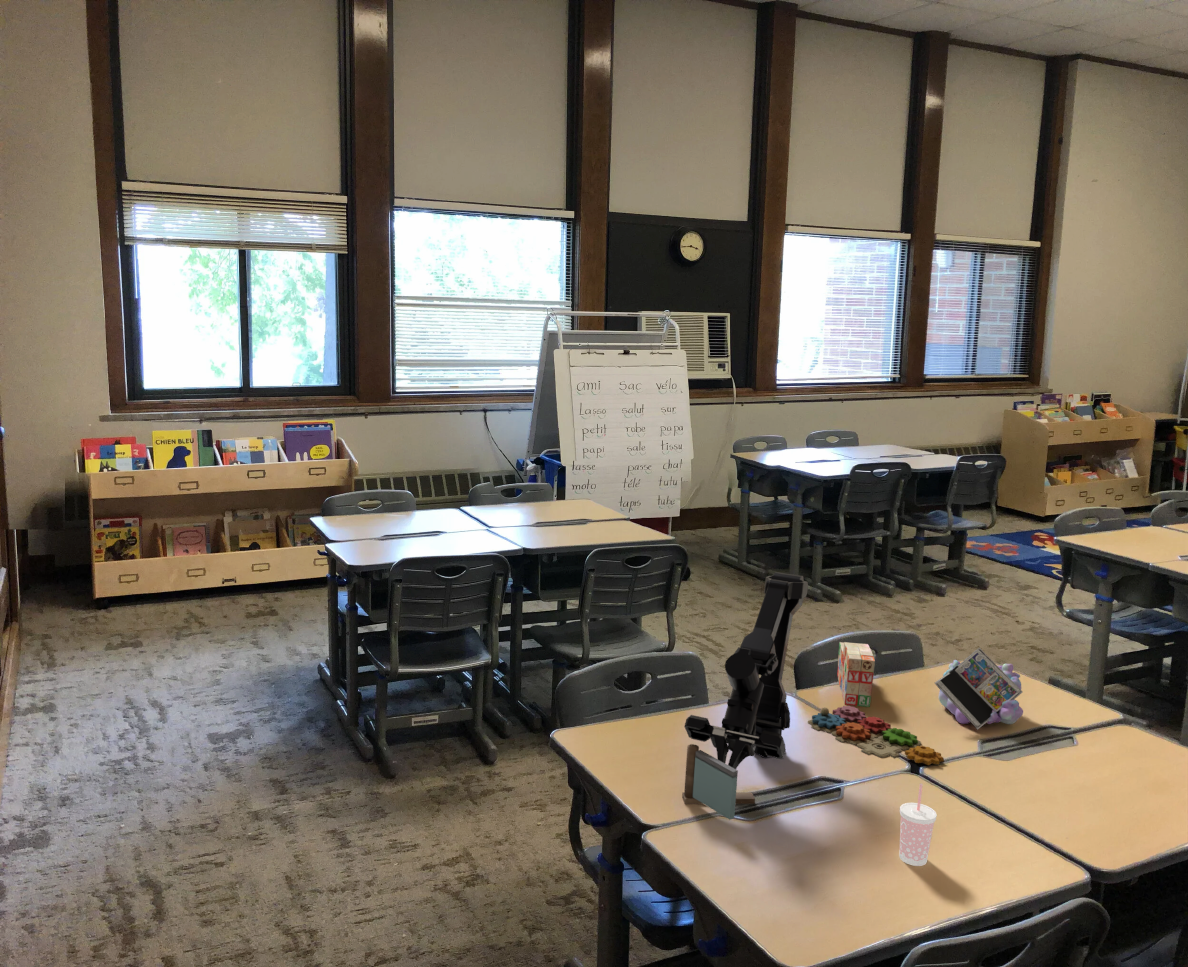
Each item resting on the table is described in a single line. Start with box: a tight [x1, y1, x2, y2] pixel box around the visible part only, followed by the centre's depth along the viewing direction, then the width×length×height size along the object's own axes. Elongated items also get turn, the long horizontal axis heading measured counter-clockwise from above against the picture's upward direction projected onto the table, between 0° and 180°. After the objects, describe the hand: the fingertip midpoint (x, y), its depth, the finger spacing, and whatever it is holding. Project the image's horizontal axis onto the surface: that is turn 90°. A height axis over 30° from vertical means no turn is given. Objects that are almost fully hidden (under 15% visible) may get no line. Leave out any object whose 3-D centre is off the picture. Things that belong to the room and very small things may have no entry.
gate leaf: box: [693, 749, 739, 821], centre depth 181 cm, size 1×10×9 cm, turn 37°
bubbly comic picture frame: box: [934, 647, 1024, 730], centre depth 234 cm, size 20×22×18 cm
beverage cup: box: [899, 783, 938, 867], centre depth 169 cm, size 6×6×14 cm
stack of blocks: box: [836, 641, 876, 708], centre depth 248 cm, size 21×6×12 cm, turn 171°
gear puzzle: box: [807, 705, 945, 766], centre depth 219 cm, size 31×16×4 cm, turn 35°
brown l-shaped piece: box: [681, 743, 756, 805], centre depth 187 cm, size 3×14×11 cm, turn 95°
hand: (723, 778), depth 181 cm, fingers closed
